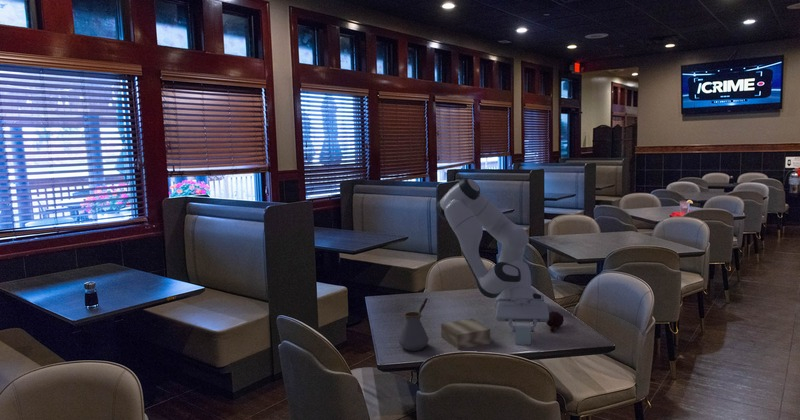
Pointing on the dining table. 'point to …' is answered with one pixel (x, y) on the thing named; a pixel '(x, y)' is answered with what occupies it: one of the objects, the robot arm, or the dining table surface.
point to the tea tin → (523, 332)
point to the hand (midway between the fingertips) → (523, 331)
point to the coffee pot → (413, 331)
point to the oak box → (465, 333)
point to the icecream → (555, 320)
